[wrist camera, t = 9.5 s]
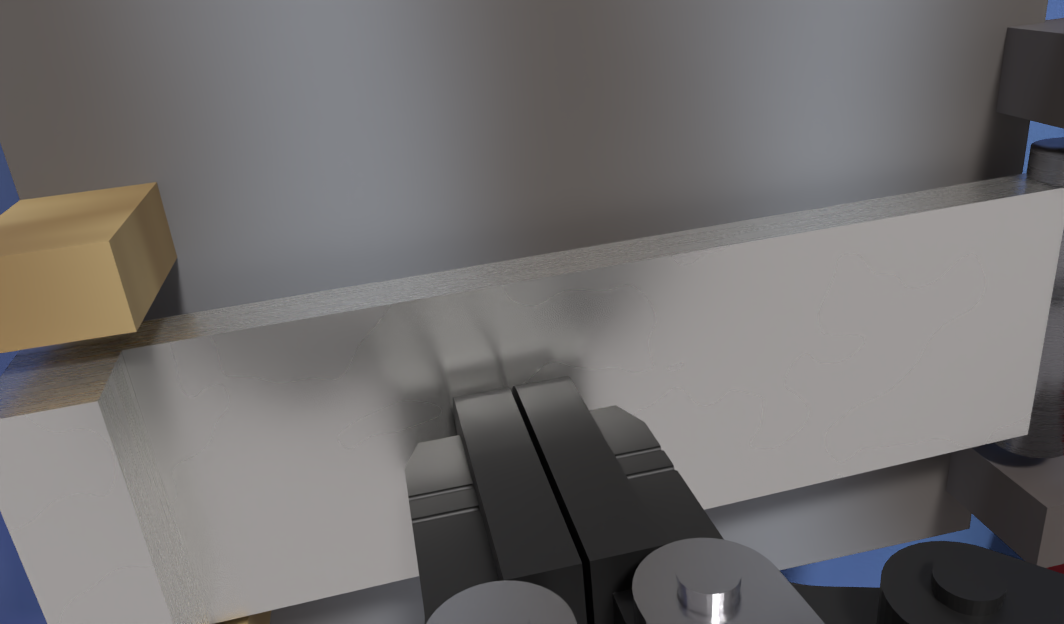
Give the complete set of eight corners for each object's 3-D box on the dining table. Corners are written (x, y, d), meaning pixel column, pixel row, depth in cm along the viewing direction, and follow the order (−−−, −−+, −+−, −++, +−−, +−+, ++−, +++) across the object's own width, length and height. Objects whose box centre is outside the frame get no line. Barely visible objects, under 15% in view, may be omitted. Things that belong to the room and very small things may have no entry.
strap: (1081, 133, 13) (1225, 166, 11) (1032, 412, 15) (1146, 484, 13) (20, 302, 10) (-51, 389, 8) (133, 617, 12) (100, 748, 10)
